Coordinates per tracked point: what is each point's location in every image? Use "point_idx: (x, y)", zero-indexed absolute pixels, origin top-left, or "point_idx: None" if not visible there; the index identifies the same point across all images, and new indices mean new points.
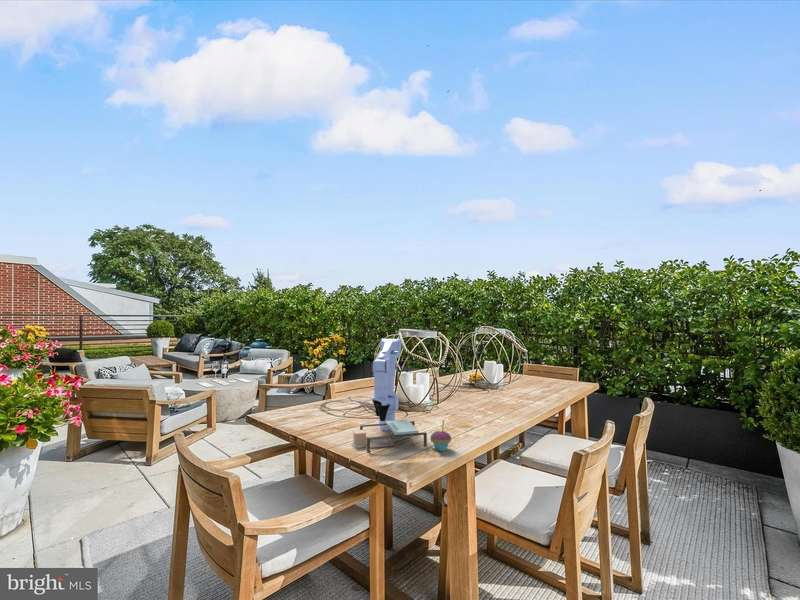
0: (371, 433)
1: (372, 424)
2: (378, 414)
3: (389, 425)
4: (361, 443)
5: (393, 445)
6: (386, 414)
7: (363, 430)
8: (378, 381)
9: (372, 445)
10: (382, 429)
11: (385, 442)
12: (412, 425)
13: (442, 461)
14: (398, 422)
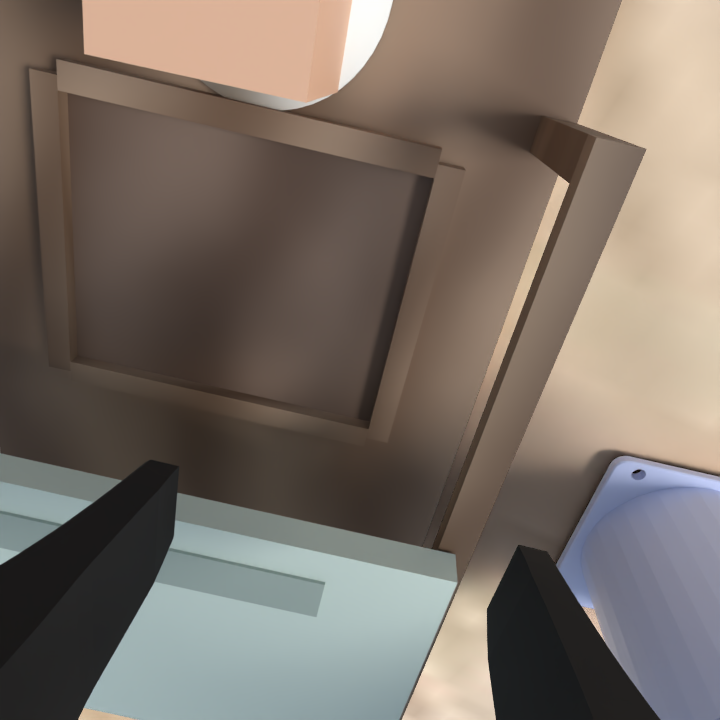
0: (704, 365)
1: (525, 378)
2: (510, 599)
3: (204, 528)
4: None
5: (48, 359)
6: (688, 714)
7: (259, 68)
8: None
9: (160, 150)
10: (660, 503)
11: (216, 340)
12: (113, 707)
13: None
14: (298, 663)
